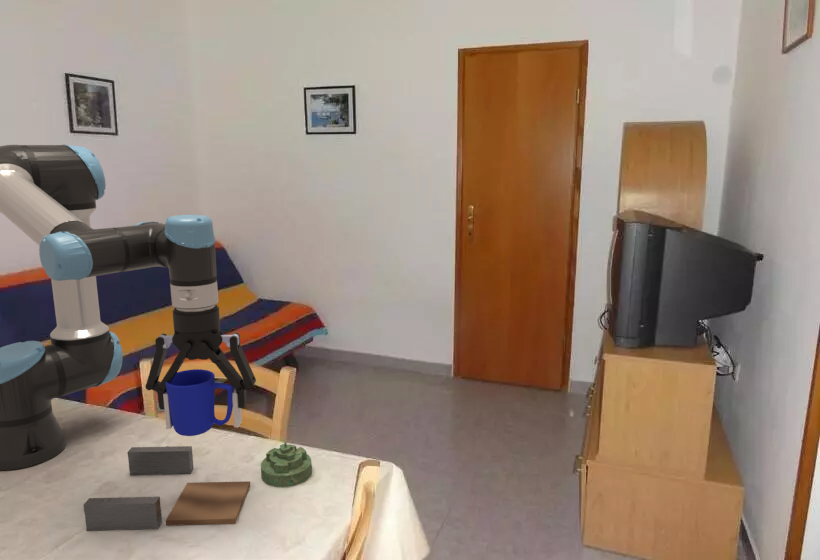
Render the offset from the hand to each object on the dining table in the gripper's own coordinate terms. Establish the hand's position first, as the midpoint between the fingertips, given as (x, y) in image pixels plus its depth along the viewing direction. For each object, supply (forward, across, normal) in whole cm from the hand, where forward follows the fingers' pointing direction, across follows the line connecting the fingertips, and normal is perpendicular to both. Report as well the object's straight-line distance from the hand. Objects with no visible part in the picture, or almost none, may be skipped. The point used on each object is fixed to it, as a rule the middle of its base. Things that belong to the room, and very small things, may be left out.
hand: (204, 424), depth 106 cm
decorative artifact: (+16, +12, +10) cm, 23 cm away
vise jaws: (+16, -13, +5) cm, 21 cm away
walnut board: (+16, 0, 0) cm, 16 cm away
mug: (+1, 0, 0) cm, 1 cm away
